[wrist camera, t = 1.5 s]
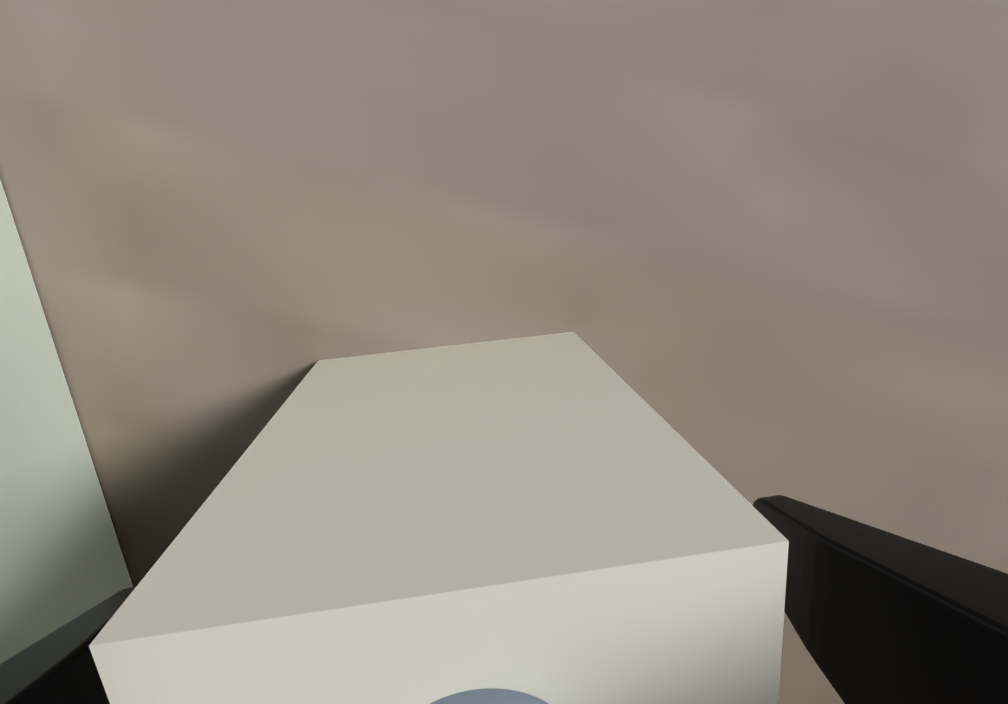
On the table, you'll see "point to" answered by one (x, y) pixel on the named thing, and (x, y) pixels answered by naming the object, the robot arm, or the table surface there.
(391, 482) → the carton
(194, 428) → the table surface
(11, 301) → the tote
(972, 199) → the table surface
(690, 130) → the table surface
